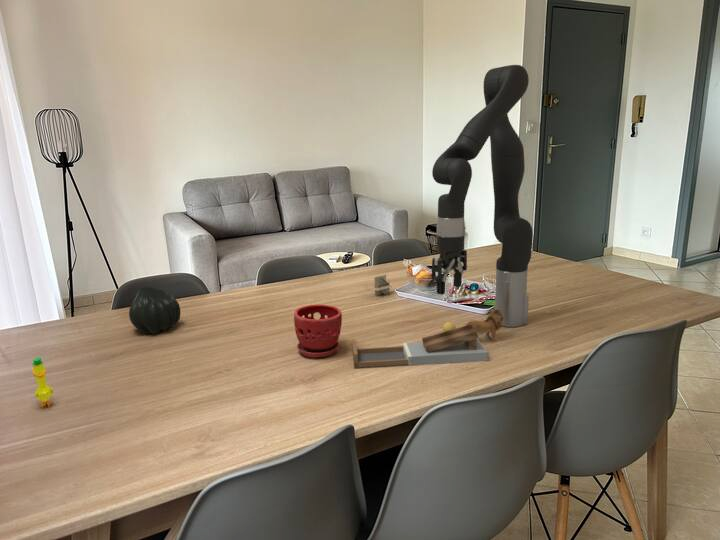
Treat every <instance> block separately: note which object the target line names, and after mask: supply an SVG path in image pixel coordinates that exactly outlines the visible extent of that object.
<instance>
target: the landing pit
mask: <svg viewBox="0 0 720 540" xmlns="http://www.w3.org/2000/svg"><path fill="white" fill-rule="evenodd" d="M351 346H352V349H351V351H352V352H351V353H352V354H351V355H352V360H353V367H354V368H353V369H355V370H357V369H369V368H387V367H388V368H389V367H405V366H409V365H408V359H406V357H405V355H404V352H403V345H400V346H399V345H398V346H396V345H395V346H384V347H383V346H381V347H380V346H379V347H364V348H358V347H357V341H356V340H351Z"/></svg>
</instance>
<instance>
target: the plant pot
mask: <svg viewBox="0 0 720 540" xmlns="http://www.w3.org/2000/svg"><path fill="white" fill-rule="evenodd" d="M317 313H318V314H319V315H320V317H319V318H315V316H314V315H315V314H317ZM342 314H343V313H342V310H341V309H340V308H339V307H336V306H334V305H329V304H309V305H304V306H301V307H298V308H297V309H296V310H295V311H294V314H293V321H294V329H295V330H294V331H295V334H296V339H297V340H298V343H297V345H296V348H297V351H298V352H299V353H300V354H301V355H303V356H305V357H308V358H324V357H328V356H330V355H333V354H334V353H336V352H337V351H338V349H339V346H340V344H339V342H338V340H339V338H340V336H341V330H342V325H343V323H342V322H343V321H342V320H343V319H342V318H343V316H342ZM309 315H310V316H309ZM303 316H304V317H303Z"/></svg>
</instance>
